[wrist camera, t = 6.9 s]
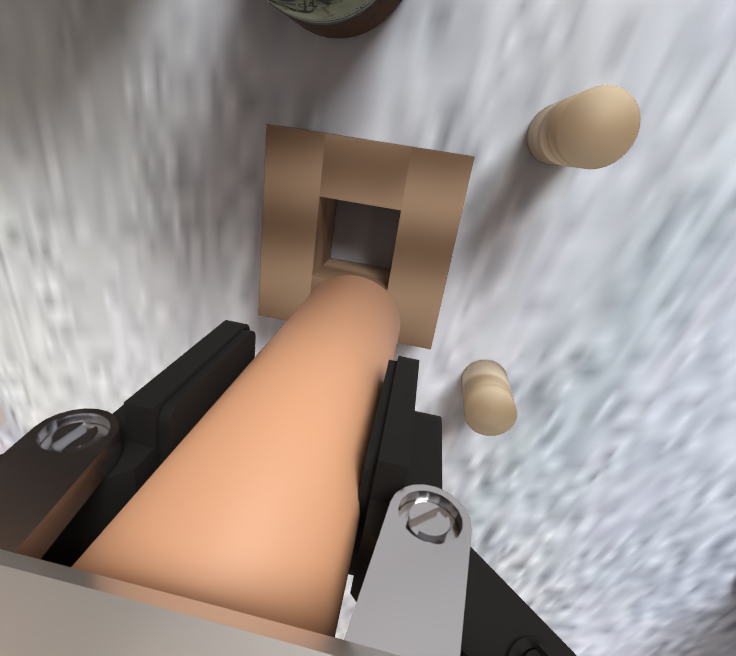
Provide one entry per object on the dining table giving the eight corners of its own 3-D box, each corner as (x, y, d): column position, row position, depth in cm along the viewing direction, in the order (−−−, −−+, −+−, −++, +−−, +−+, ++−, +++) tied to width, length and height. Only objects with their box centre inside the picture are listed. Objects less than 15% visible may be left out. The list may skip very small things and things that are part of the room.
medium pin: (575, 168, 27) (622, 174, 20) (520, 159, 28) (547, 162, 20) (594, 107, 26) (653, 91, 19) (536, 99, 26) (571, 79, 19)
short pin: (500, 402, 35) (508, 440, 30) (457, 393, 35) (459, 429, 30) (512, 364, 33) (523, 398, 29) (467, 355, 34) (471, 388, 29)
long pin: (390, 375, 16) (284, 881, 5) (300, 355, 16) (6, 794, 5) (408, 285, 14) (315, 720, 3) (308, 266, 15) (-71, 612, 4)
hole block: (432, 321, 33) (430, 349, 28) (283, 292, 34) (258, 314, 29) (469, 155, 28) (474, 156, 24) (294, 128, 29) (266, 123, 25)
